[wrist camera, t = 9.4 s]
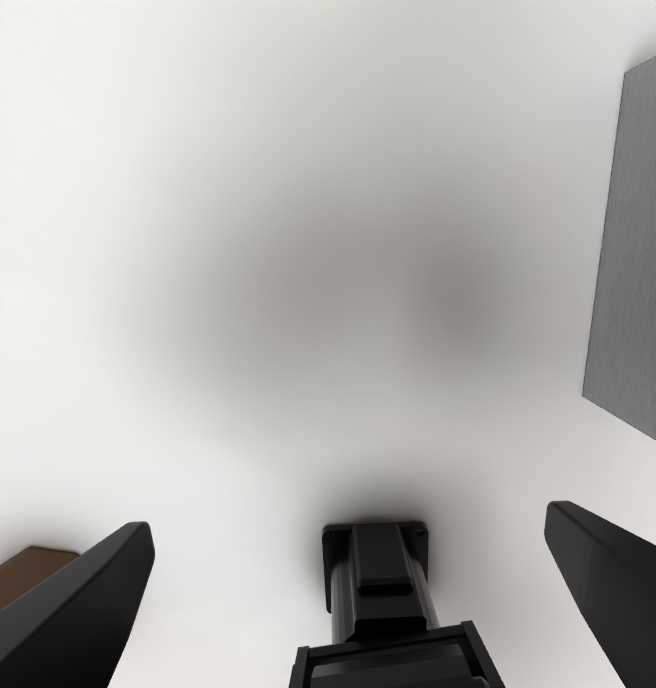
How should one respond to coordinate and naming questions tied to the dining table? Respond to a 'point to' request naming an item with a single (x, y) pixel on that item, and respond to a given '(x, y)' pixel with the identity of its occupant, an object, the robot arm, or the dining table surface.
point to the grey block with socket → (628, 267)
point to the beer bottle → (29, 571)
